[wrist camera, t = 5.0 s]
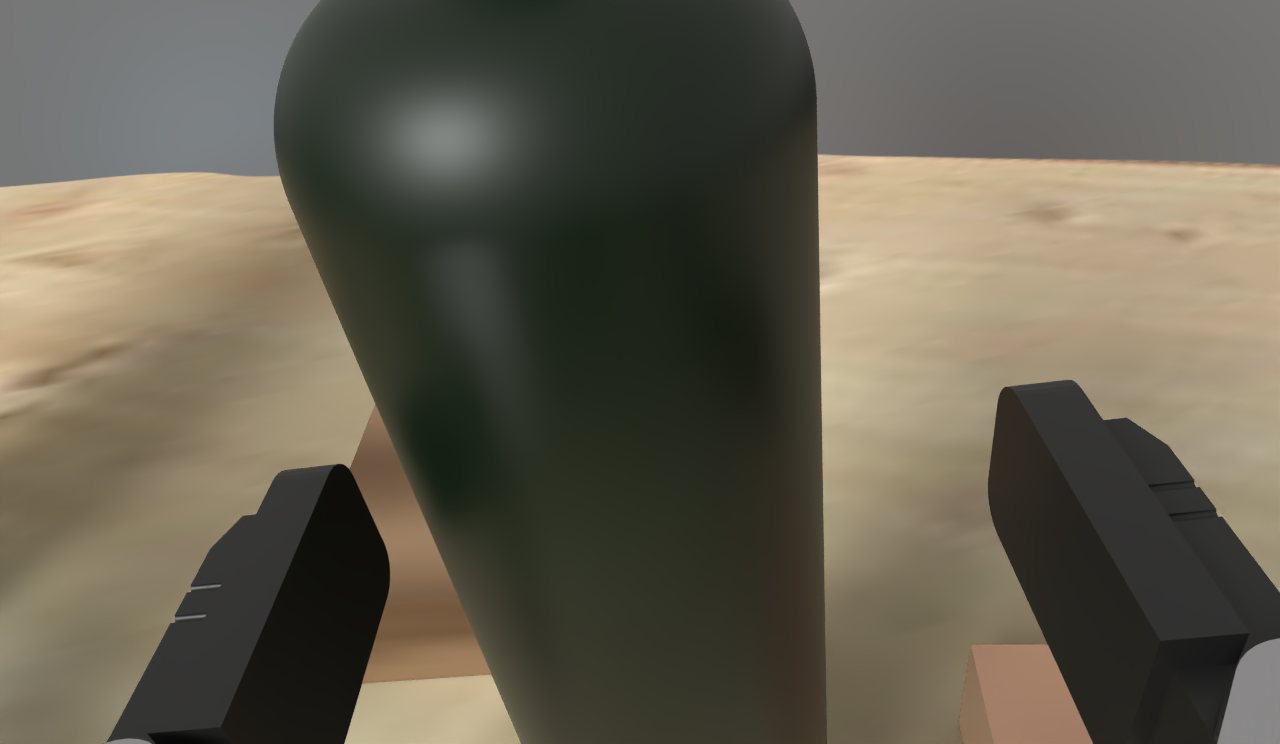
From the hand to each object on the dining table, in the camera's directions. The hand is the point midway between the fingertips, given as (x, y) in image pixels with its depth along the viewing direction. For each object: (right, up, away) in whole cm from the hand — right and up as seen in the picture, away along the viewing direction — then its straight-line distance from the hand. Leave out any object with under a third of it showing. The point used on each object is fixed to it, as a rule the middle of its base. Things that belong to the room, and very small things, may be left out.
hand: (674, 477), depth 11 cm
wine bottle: (+1, -12, +11) cm, 16 cm away
